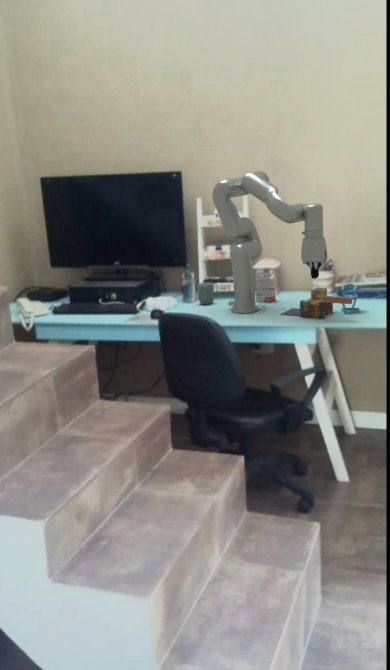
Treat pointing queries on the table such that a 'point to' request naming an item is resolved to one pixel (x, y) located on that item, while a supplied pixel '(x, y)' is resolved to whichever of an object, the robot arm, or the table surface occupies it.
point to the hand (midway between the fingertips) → (314, 277)
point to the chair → (354, 296)
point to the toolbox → (315, 310)
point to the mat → (292, 312)
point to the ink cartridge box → (264, 287)
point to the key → (337, 300)
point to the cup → (205, 293)
